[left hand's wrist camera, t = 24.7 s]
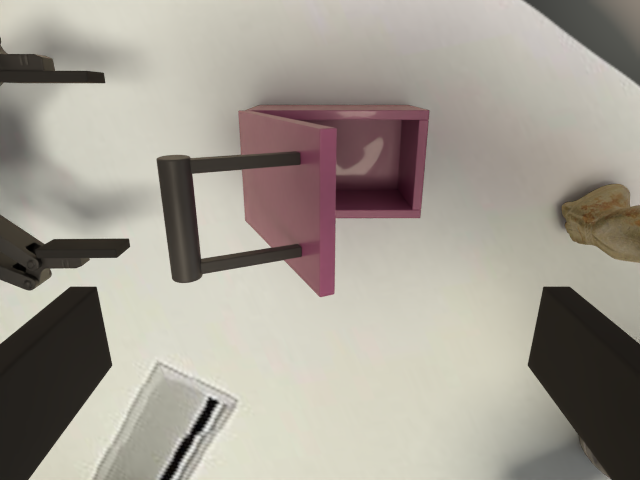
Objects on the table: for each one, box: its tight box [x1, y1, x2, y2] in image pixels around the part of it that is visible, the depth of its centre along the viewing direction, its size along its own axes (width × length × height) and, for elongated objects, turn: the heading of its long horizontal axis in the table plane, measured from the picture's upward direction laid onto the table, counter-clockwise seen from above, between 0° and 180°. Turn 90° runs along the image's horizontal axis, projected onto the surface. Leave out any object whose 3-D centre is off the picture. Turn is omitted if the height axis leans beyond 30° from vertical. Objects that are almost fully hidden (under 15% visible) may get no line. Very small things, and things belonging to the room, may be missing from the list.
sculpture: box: [562, 184, 640, 263], centre depth 41 cm, size 6×7×15 cm
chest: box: [245, 105, 429, 218], centre depth 42 cm, size 16×10×9 cm, turn 90°
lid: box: [157, 110, 337, 297], centre depth 29 cm, size 16×10×9 cm
